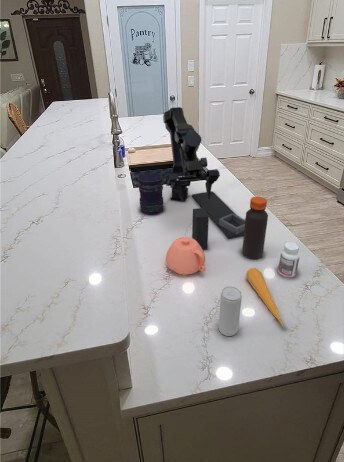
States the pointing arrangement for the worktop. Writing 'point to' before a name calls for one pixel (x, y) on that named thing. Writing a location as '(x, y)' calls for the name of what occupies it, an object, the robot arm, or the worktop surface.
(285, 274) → the pill bottle
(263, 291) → the carrot
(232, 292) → the beverage can
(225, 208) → the base pad
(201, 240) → the pad block
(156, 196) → the storage jar
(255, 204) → the vinegar
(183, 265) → the pink dome with handle
